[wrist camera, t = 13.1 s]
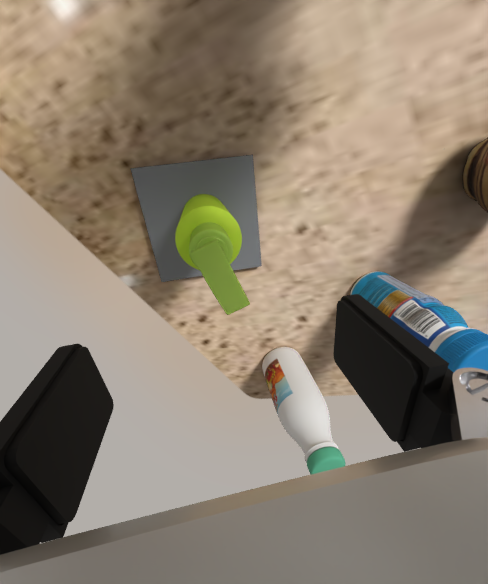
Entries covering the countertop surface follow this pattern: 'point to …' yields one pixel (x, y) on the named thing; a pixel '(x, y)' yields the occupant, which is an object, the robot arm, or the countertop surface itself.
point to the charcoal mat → (180, 189)
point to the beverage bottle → (426, 320)
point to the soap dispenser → (212, 248)
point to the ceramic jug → (477, 174)
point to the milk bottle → (301, 408)
